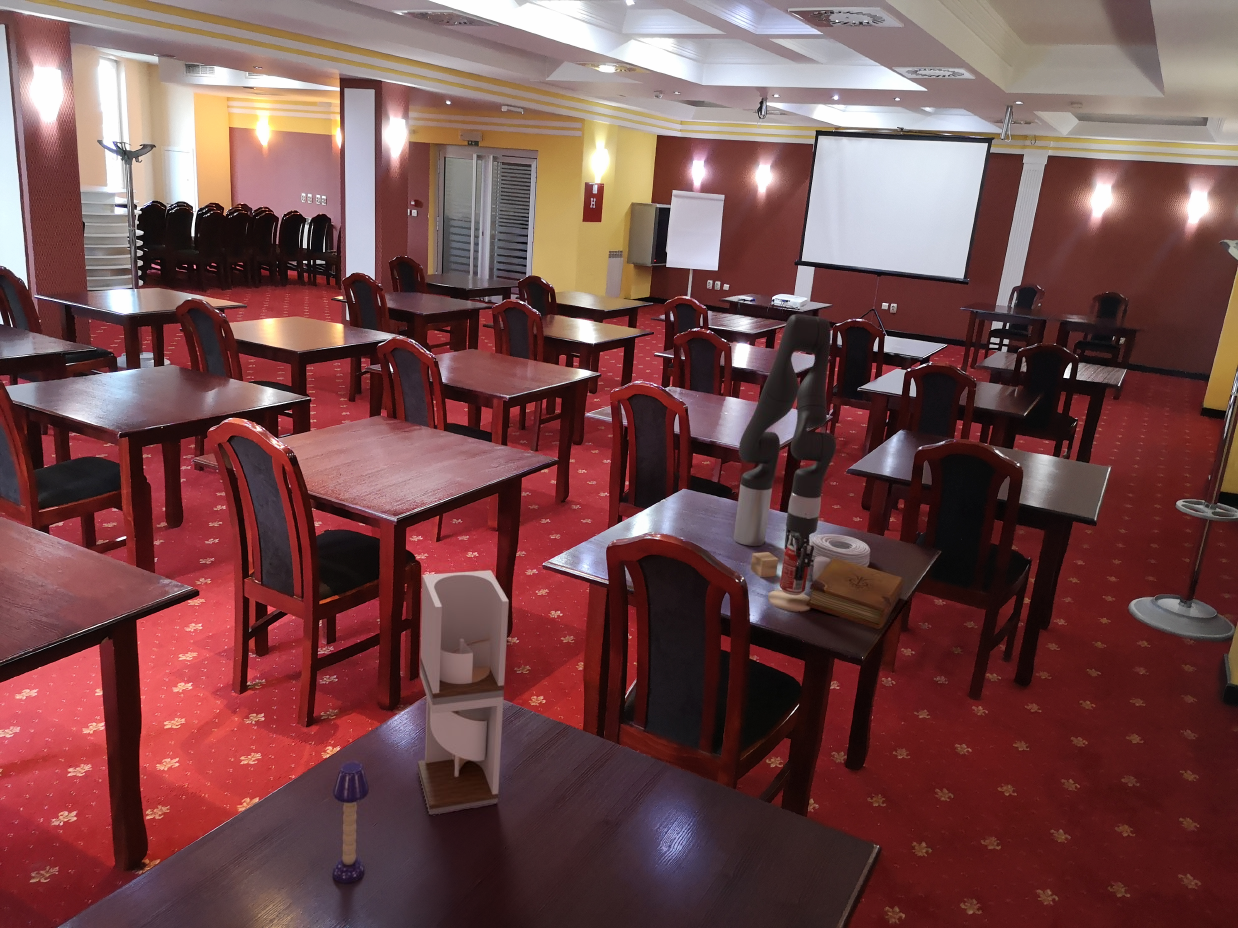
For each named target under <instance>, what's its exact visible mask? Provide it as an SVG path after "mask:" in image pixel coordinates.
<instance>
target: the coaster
mask: <svg viewBox="0 0 1238 928" xmlns="http://www.w3.org/2000/svg"><path fill="white" fill-rule="evenodd" d="M810 598H811V597H810V596H808V595H807V594H804V593H801V594H800V595H789V594H786V593H784V592H783V591H782V589H777V590H773V591H770V592H768V597H767V600H768V602H769V604H771V605H772V606H774V607H776V608H778V609H780V608H781V609H780V610H784V611H789V612H799V611H800V612H806V611H809V610H811V609H812V607H808V606H806V605H807V602H808V601H809V599H810ZM800 612H799V613H800Z"/></svg>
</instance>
